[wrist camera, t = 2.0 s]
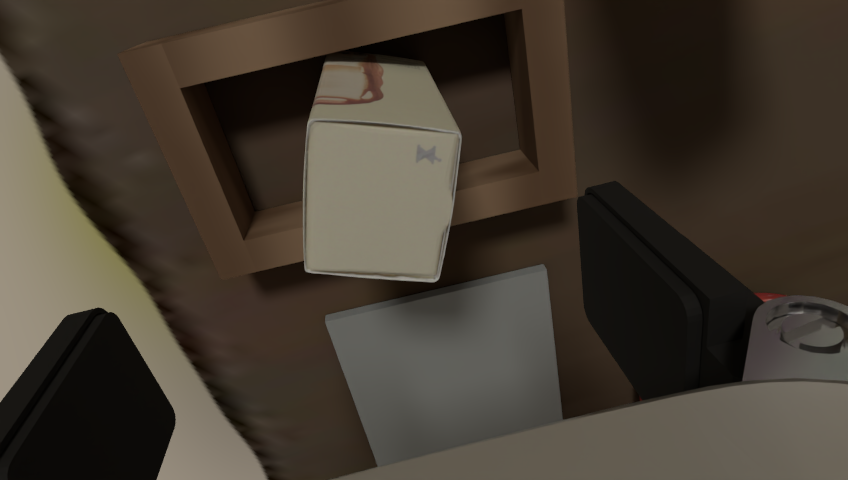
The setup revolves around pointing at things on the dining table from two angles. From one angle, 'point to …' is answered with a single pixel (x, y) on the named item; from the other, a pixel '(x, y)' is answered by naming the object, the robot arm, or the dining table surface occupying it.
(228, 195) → the pocket block
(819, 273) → the dining table surface
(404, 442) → the mat
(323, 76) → the skincare box
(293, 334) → the dining table surface
